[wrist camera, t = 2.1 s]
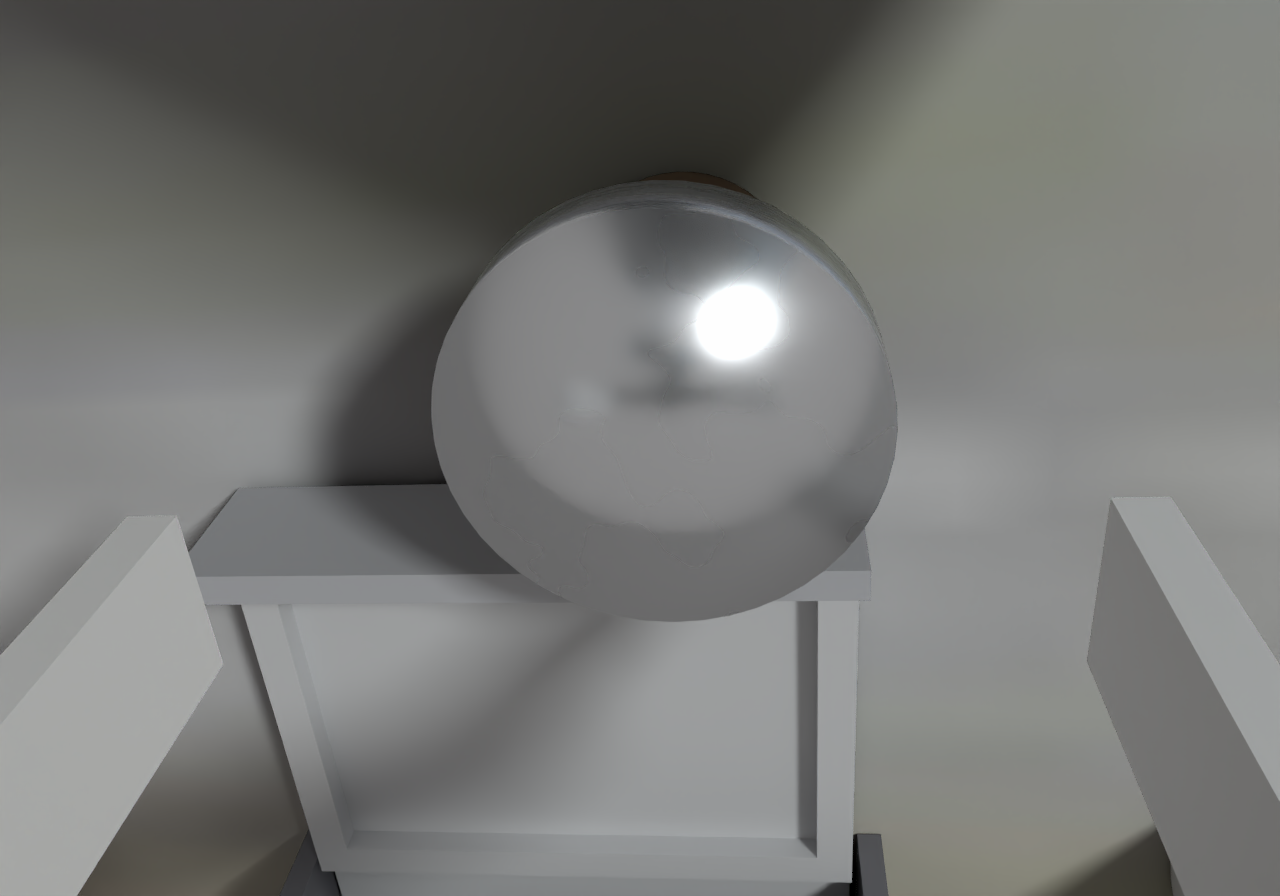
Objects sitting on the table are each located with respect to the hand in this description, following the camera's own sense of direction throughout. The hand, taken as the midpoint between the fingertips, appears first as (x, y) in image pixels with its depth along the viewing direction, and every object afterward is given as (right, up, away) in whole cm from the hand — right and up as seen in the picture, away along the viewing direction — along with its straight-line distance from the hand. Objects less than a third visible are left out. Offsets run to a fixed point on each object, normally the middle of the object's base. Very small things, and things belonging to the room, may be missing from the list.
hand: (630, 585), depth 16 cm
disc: (+1, +3, +5) cm, 6 cm away
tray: (-2, -7, +17) cm, 19 cm away
